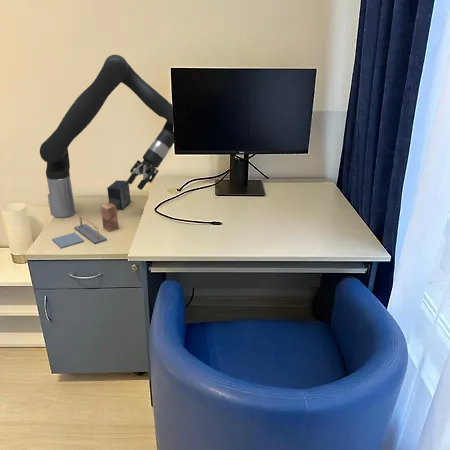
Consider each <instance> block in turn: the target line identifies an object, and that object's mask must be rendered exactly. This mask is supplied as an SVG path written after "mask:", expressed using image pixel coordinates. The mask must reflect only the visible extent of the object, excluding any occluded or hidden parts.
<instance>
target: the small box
mask: <svg viewBox="0 0 450 450" xmlns="http://www.w3.org/2000/svg"><path fill="white" fill-rule="evenodd" d="M106 189H107V190H106V191H107V195H108V196H107V198H108V203H112V204H114V205H115V206H116V208H117V211H123V210H124V209H126V207H128V205H129V204H130V203H131V202H132V201H131V200H132V199H131V191H130V184H129V183H128V182H127V180H115V181H114V182H113V183H112V184H111V183H110V185H109V186H107V188H106Z"/></svg>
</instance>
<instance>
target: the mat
mask: <svg viewBox="0 0 450 450" xmlns="http://www.w3.org/2000/svg"><path fill="white" fill-rule="evenodd" d="M51 240H52V242H53V243H54V244H56V245H57V246H58V247H59V248H60V249H64V248H67V247H71V246H73V245H74V246H75V245H77V244H81V243H84V242H85V240H84V239H83V238H82V237H81V236H80V235H78V233H76V232H75V231H74V232H72V233H67V234H64V235H60V236H57V237H54V238H51Z"/></svg>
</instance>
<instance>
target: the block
mask: <svg viewBox="0 0 450 450" xmlns="http://www.w3.org/2000/svg"><path fill="white" fill-rule="evenodd" d="M100 212H101V219H102V228H103V229H104V230H105V231H107V232H109V233H110V232H113V231H117V230H120V229H119V222H118V221H119V219H118V210H117V208H116V206H115V205H114V204H112V203H109V202H108V203H105V204H101V205H100Z"/></svg>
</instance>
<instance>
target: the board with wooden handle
mask: <svg viewBox="0 0 450 450" xmlns="http://www.w3.org/2000/svg"><path fill="white" fill-rule="evenodd" d="M78 218H79V225H77V226H74V227H73V229H74V230H75V231H77V232H78V233H79V234H80V235H82V237H85V239H87V240H88V241H89V242H91V243H93V244H94V245H97V244H101V243H103V242H107V241H108V238H107V237H106V236H104V235H102V234H101V233H100V229H99V227H98V226H97V225H96V224H94V222H93V221H92V220H91V219H90V218H88V217H85V216H81V215H79V217H78ZM82 219H83V220H86V221H87V222H89V223H90V224H91V225H92V226H93V228H92V227H91V225H90V226H89V225H88V224H87V223H83V221H82ZM94 228H95V229H94Z"/></svg>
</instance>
